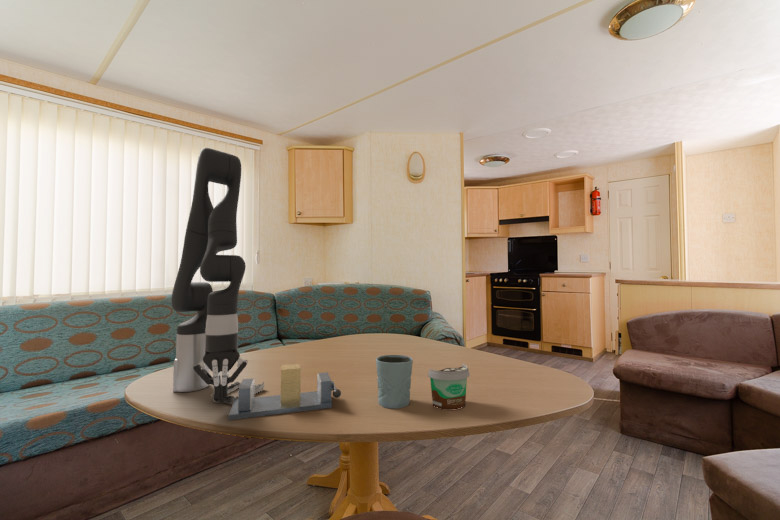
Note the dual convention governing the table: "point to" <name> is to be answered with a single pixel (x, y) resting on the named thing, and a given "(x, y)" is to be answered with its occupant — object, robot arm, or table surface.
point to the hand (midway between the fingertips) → (220, 399)
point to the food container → (449, 387)
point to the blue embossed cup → (394, 380)
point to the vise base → (307, 402)
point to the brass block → (290, 383)
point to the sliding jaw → (246, 395)
